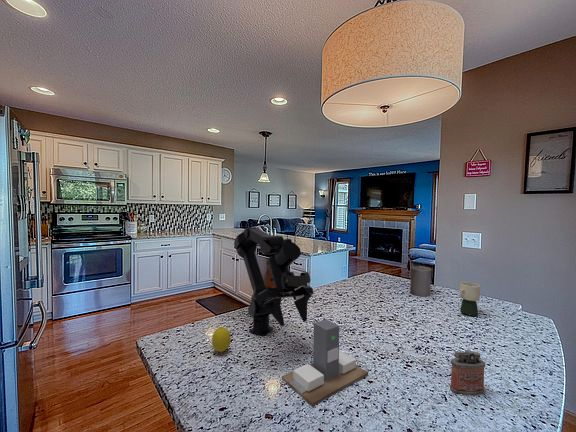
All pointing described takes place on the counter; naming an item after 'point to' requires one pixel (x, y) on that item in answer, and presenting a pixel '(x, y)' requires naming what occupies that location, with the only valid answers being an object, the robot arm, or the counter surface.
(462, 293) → the character mug
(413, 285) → the pillar candle
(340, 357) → the terminal blocks
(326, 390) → the board
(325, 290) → the counter surface
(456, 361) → the lighter
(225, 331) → the lemon
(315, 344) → the block
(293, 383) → the rail
